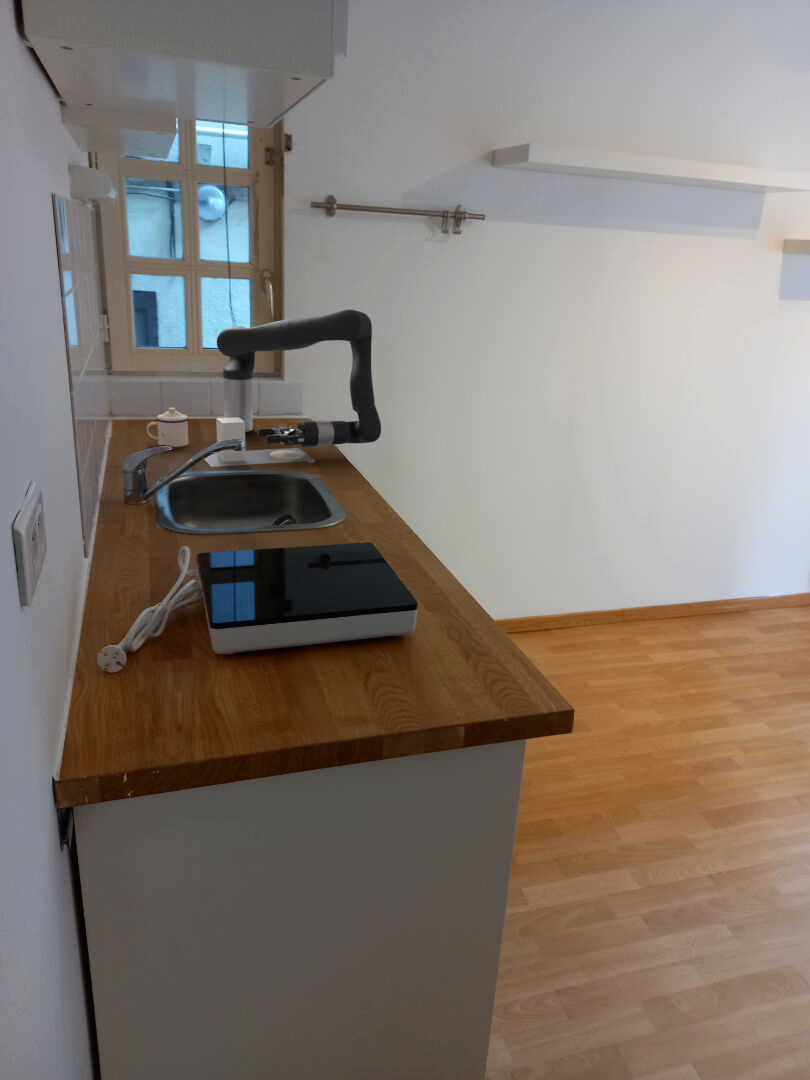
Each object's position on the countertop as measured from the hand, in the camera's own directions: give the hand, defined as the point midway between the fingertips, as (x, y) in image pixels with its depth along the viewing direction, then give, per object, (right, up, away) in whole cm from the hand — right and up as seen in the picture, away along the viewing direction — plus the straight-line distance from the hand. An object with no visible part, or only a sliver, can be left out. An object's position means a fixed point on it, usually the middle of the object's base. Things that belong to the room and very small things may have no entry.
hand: (262, 436), depth 223 cm
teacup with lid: (-30, -2, +11) cm, 32 cm away
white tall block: (-9, -7, -2) cm, 11 cm away
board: (-2, -7, +2) cm, 7 cm away
